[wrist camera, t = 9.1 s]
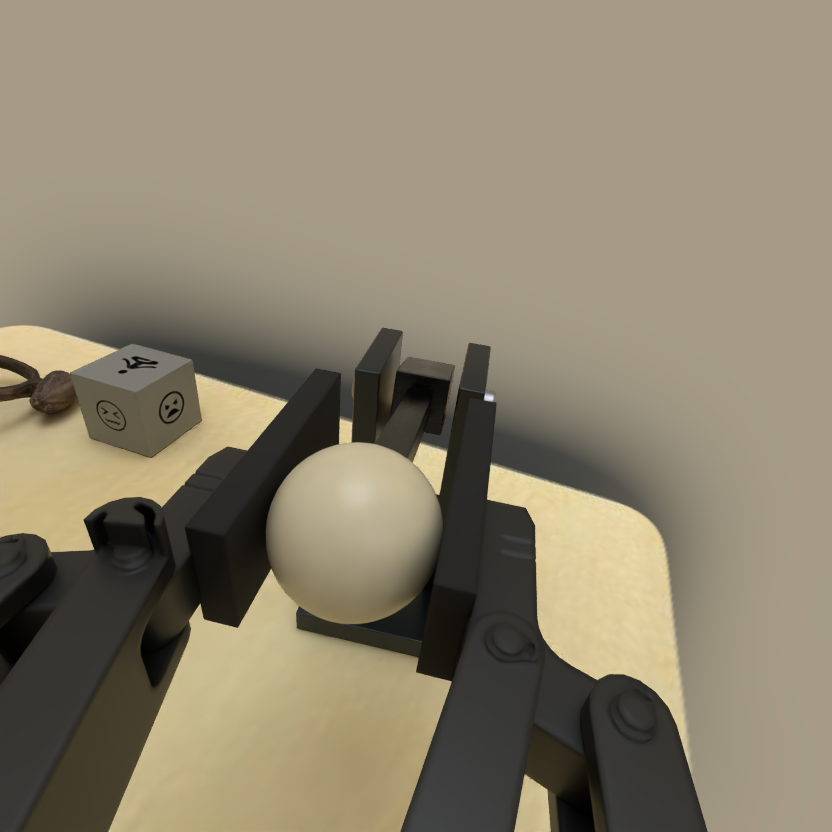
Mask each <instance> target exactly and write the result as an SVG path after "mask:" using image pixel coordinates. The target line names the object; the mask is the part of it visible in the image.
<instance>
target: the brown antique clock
mask: <svg viewBox="0 0 832 832" xmlns="http://www.w3.org/2000/svg"><path fill="white" fill-rule="evenodd" d="M0 368H3V369H7V370H10V371H12V372H14V373H17V374H19V375H21V376H23V377H24V378H26V379H27V381H26V382H23V383H21V384H17V385H13V386H7V387H0V402H1V401H9V400H14V399H19V398H26V397H31V399H30V400H29V401H30V404H31V406H32V407H33V408H34V409H35V410H36V411H40V412H44V413H55V412H58V411H60V410H63V409H65V408H66V407H67V406H68V405H69V404H71V403H72V402H73V401H74V399H75V397H76V396H77V395H76V392H75V388H74V385H73V382H72V379H71V376H70V374H69V373H68V372H65V371H53V372H51V373H49V374H48V375H46V377H45V378H44V379H42V378H40V375H39V373H38V371H37V370H36V369H34V368H33V367H31V366H29V365H27V364H25V363H23V362H21V361H18V360H15V359H13V358H9V357H6V356H2V355H0Z"/></svg>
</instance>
